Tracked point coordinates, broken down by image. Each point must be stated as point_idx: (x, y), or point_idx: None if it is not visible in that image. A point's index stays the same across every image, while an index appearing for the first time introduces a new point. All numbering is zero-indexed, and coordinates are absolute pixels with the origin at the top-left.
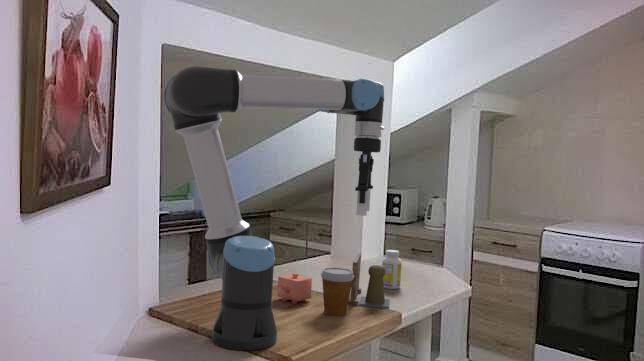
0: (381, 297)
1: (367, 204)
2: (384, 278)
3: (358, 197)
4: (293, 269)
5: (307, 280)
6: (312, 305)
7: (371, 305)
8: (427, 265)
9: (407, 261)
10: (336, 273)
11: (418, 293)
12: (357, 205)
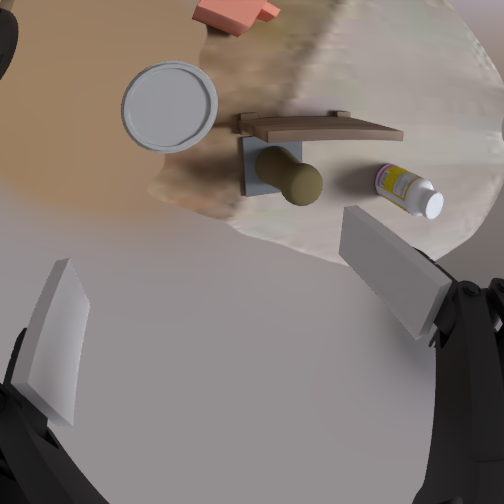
0: (266, 182)
1: (360, 265)
2: (390, 174)
3: (27, 347)
4: (437, 15)
5: (232, 20)
6: (201, 49)
7: (244, 162)
8: (481, 220)
9: (494, 195)
10: (145, 110)
11: None
12: (40, 302)
